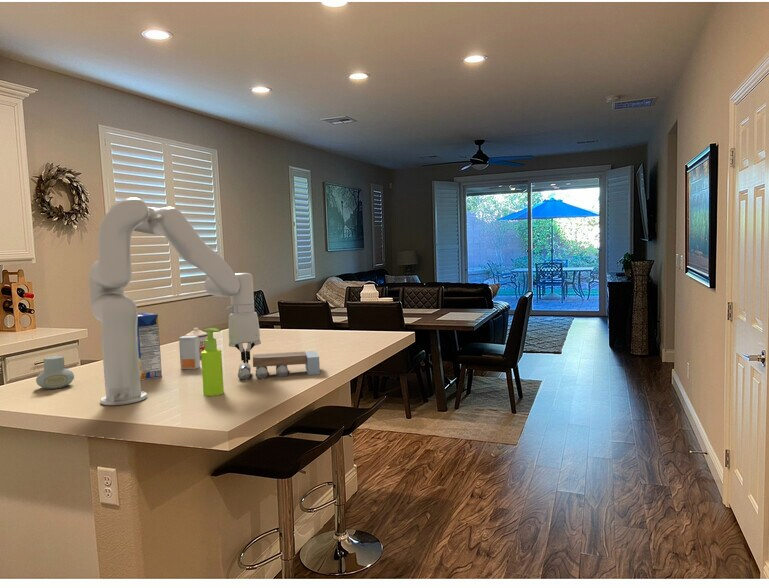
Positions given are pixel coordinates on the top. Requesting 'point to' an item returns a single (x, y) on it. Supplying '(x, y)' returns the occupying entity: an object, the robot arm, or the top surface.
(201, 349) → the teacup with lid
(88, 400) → the top surface
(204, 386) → the soap dispenser
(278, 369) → the roller
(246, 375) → the roller
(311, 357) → the stop block
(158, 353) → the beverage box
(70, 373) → the air freshener
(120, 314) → the robot arm
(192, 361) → the skincare box
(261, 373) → the roller middle
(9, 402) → the top surface
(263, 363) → the slab
